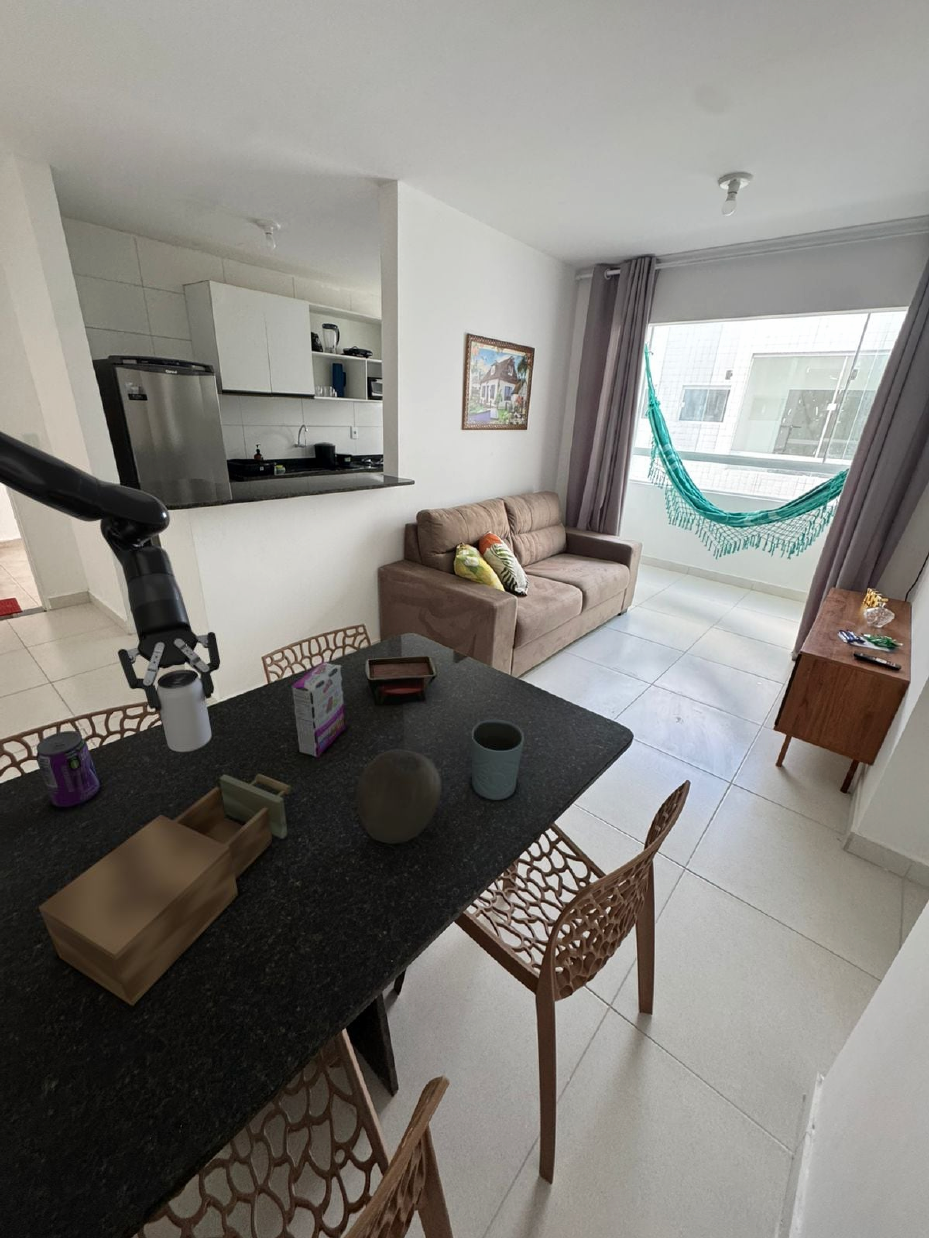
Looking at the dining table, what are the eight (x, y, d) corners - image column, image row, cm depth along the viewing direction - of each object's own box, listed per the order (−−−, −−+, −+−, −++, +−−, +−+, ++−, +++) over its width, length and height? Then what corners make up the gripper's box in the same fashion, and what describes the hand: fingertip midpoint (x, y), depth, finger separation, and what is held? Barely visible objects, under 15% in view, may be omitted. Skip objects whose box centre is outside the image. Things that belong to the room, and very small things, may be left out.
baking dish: (371, 682, 137) (364, 651, 132) (437, 673, 138) (433, 642, 133) (369, 717, 125) (361, 684, 120) (441, 706, 126) (436, 673, 121)
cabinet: (172, 860, 81) (160, 814, 77) (238, 894, 77) (229, 847, 73) (59, 957, 67) (38, 906, 63) (132, 1006, 62) (114, 954, 58)
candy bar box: (326, 723, 116) (322, 660, 110) (346, 728, 115) (342, 664, 108) (297, 752, 107) (290, 685, 100) (317, 758, 105) (312, 690, 99)
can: (213, 726, 88) (203, 666, 83) (209, 750, 83) (198, 686, 78) (171, 732, 86) (158, 670, 81) (164, 756, 80) (150, 691, 76)
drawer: (251, 791, 95) (246, 757, 91) (306, 814, 90) (303, 779, 87) (150, 878, 77) (139, 839, 74) (212, 911, 73) (204, 872, 70)
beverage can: (101, 800, 92) (84, 746, 87) (51, 815, 88) (31, 760, 83) (99, 776, 97) (84, 724, 92) (53, 790, 94) (34, 737, 89)
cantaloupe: (418, 873, 82) (420, 801, 76) (341, 845, 86) (337, 775, 80) (450, 812, 94) (454, 746, 88) (382, 790, 98) (381, 726, 92)
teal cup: (496, 810, 95) (502, 759, 90) (456, 783, 101) (459, 733, 96) (528, 783, 102) (534, 734, 97) (489, 760, 108) (493, 712, 103)
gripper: (103, 606, 76) (128, 711, 73) (207, 590, 84) (235, 684, 81) (108, 625, 82) (131, 723, 79) (205, 608, 90) (230, 696, 87)
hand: (184, 703), depth 80 cm, fingers closed on can, 6 cm apart
